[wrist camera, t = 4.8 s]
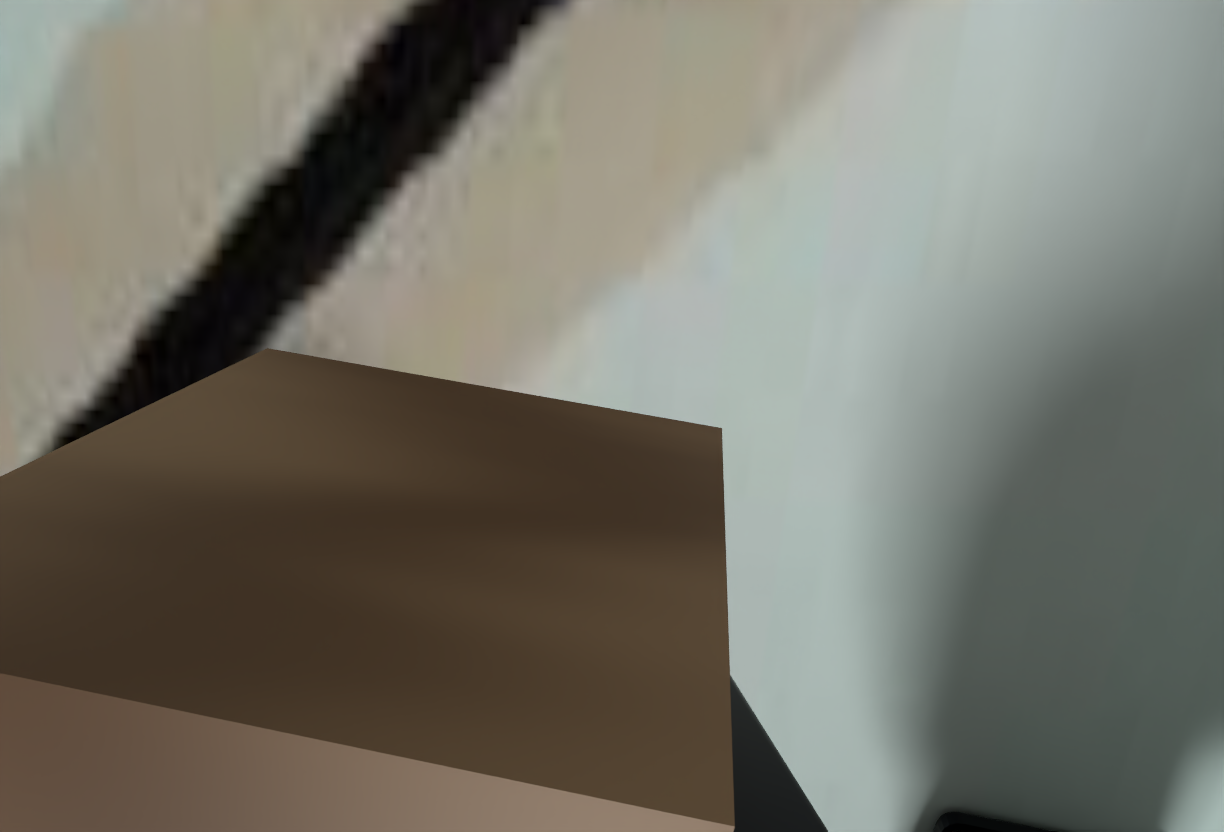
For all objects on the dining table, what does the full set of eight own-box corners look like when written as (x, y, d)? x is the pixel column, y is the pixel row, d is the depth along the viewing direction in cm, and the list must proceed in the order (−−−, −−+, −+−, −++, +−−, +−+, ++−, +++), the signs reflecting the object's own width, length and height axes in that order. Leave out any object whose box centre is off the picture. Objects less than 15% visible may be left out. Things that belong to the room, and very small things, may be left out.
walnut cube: (721, 428, 8) (735, 826, 3) (647, 787, 10) (589, 1370, 5) (267, 348, 8) (-286, 615, 4) (274, 709, 10) (-94, 1194, 6)
